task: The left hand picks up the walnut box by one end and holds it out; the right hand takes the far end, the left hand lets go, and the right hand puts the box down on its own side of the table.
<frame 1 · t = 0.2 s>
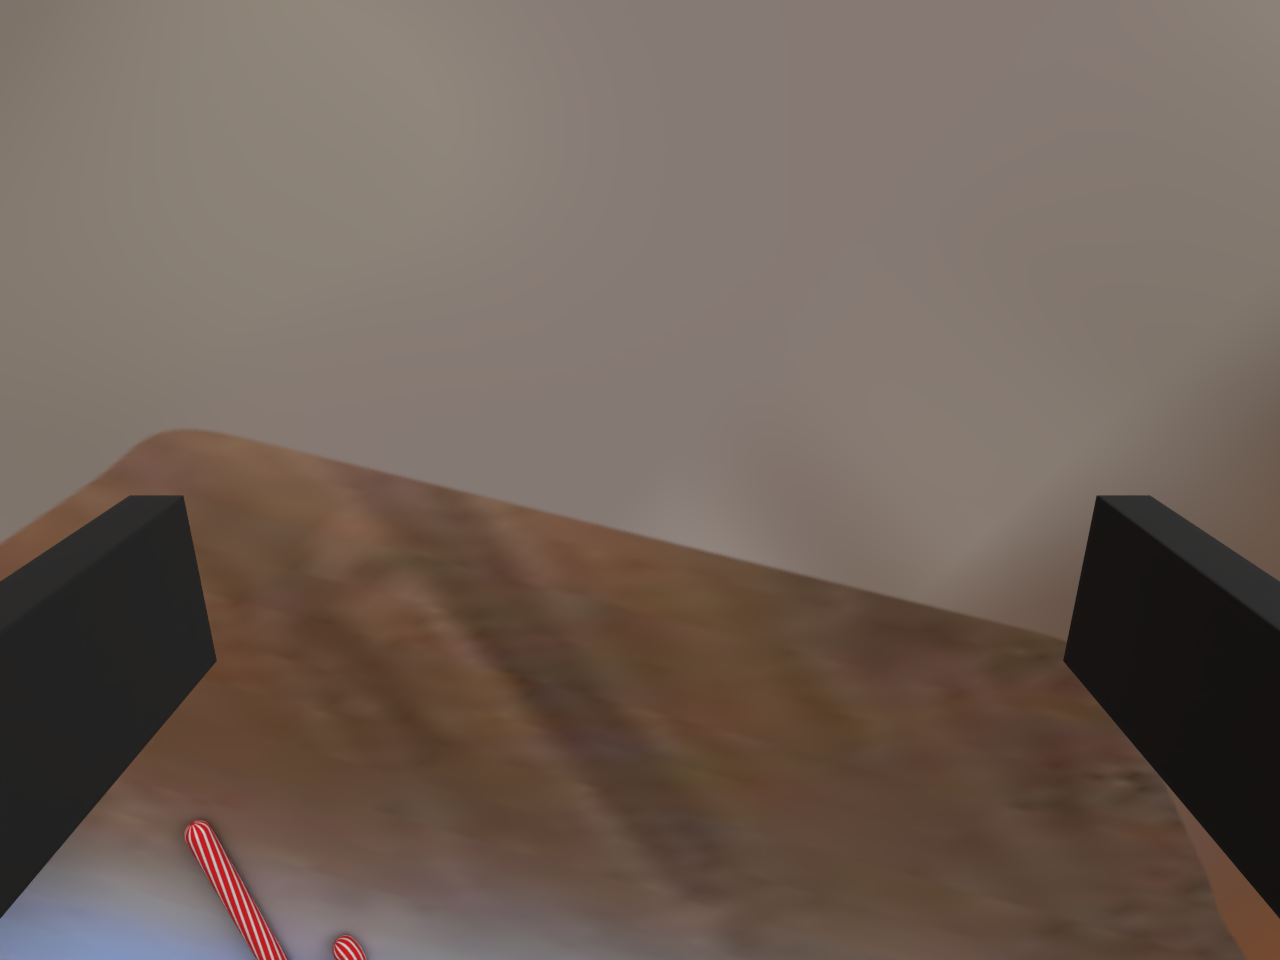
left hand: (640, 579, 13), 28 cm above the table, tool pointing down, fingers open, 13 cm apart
candy cane: (278, 902, 51), on the table
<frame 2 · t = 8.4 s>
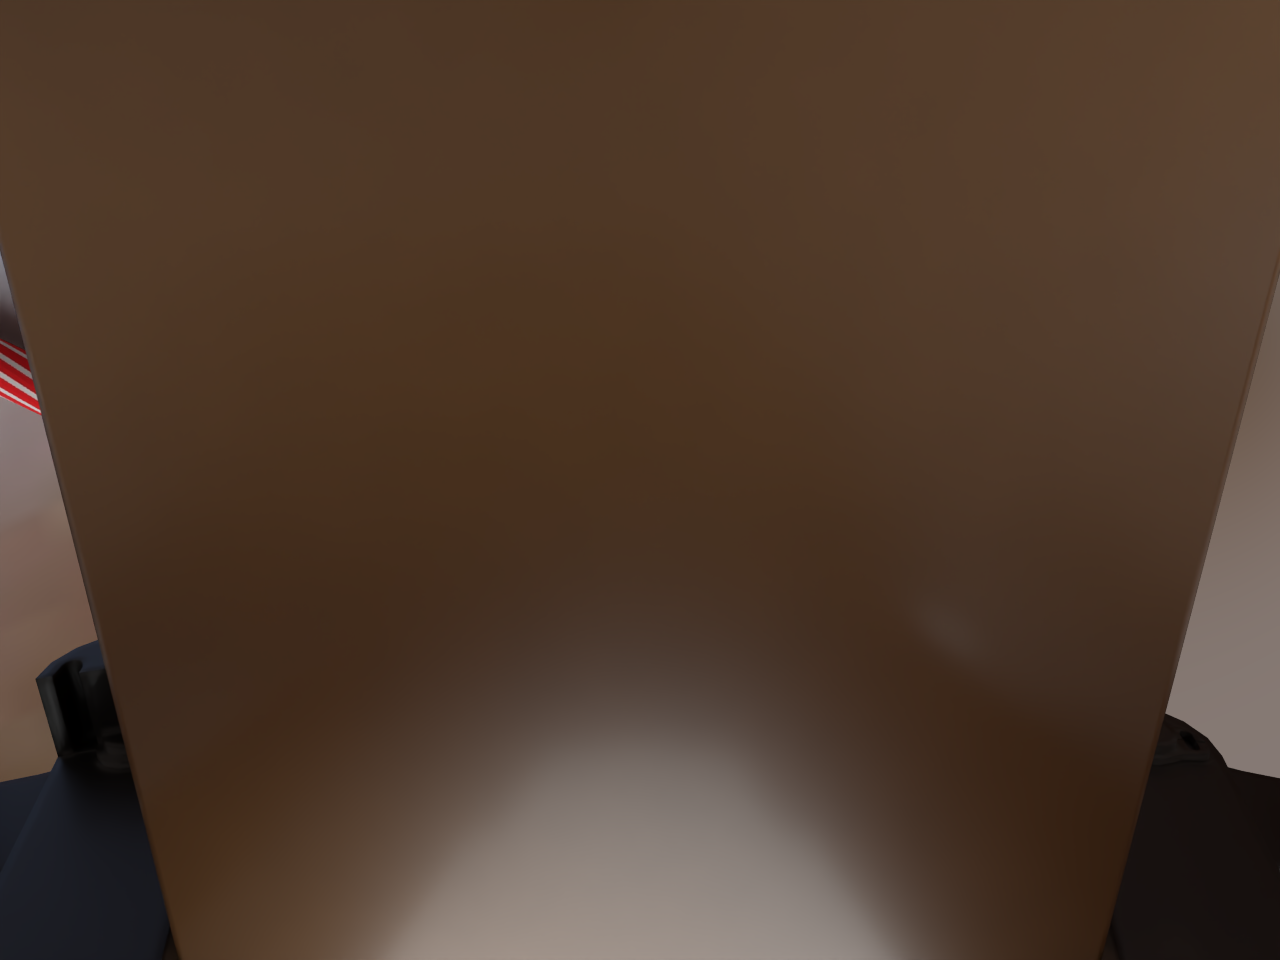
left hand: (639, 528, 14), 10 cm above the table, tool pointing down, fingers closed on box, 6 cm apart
candy cane: (3, 403, 24), on the table
box: (640, 74, 12), point 10 cm above the table, touching left hand, right hand
when the left hand's fingers open (10 cm above the table, at t = 9.4 s): box stays where it is, held by the right hand.
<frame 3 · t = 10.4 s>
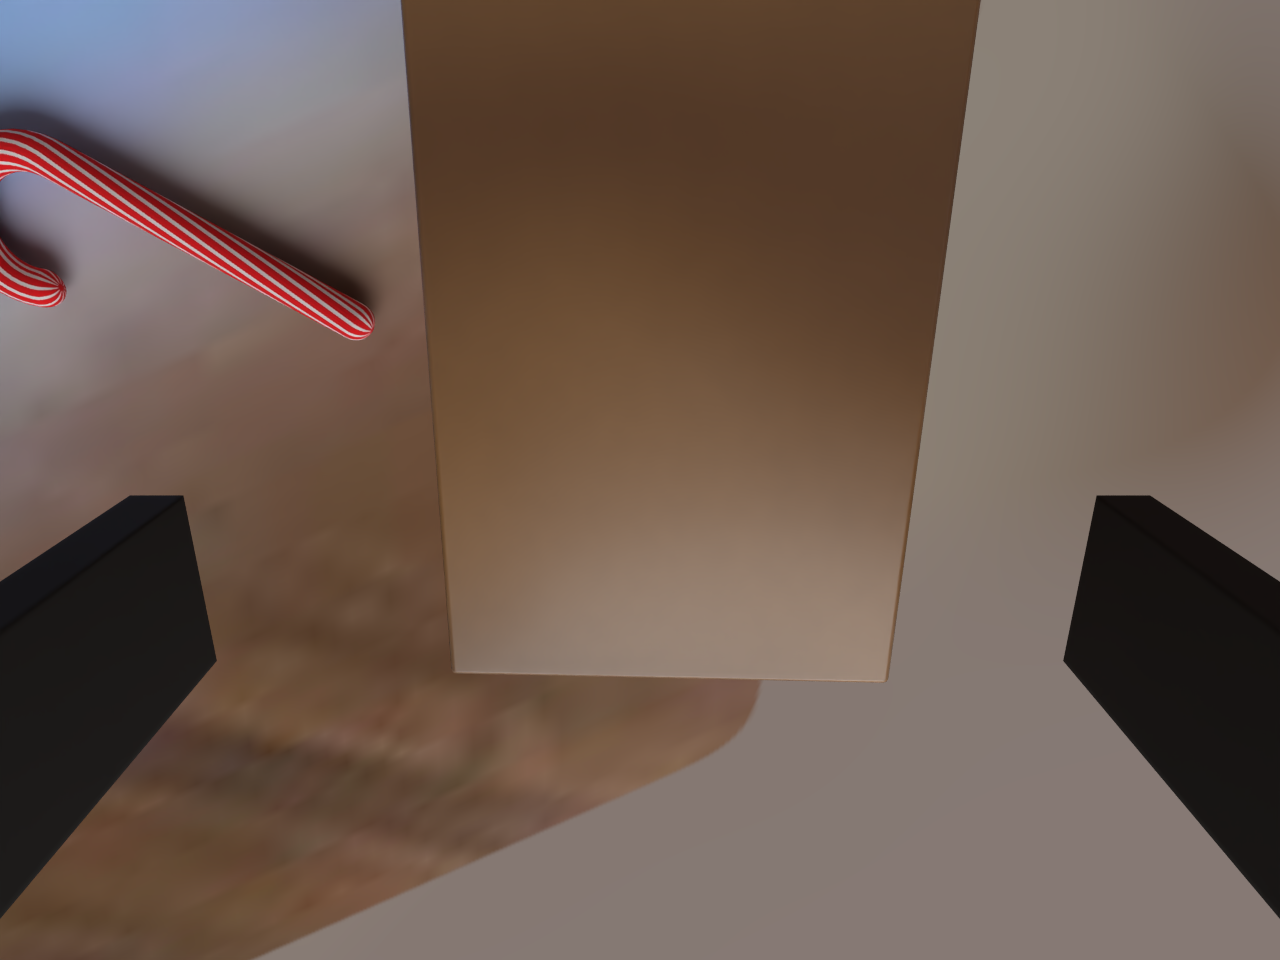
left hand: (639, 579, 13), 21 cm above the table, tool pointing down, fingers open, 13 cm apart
candy cane: (177, 261, 31), on the table
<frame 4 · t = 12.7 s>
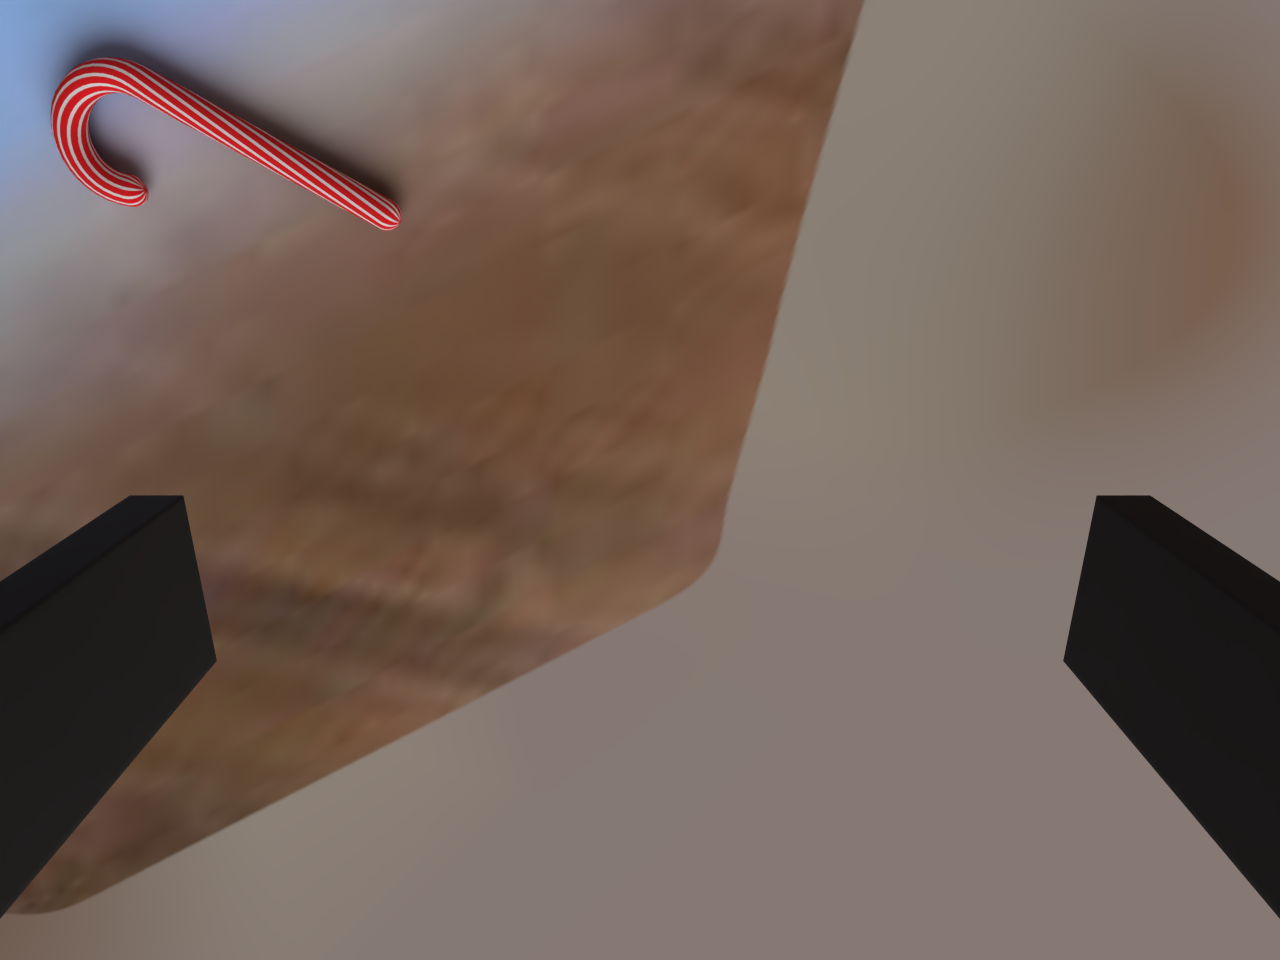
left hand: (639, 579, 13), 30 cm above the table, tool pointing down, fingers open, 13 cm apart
candy cane: (239, 168, 39), on the table
when the right hand's fingers open (6 cm above the table, at t = 17.3 s): box stays where it is, on the table.
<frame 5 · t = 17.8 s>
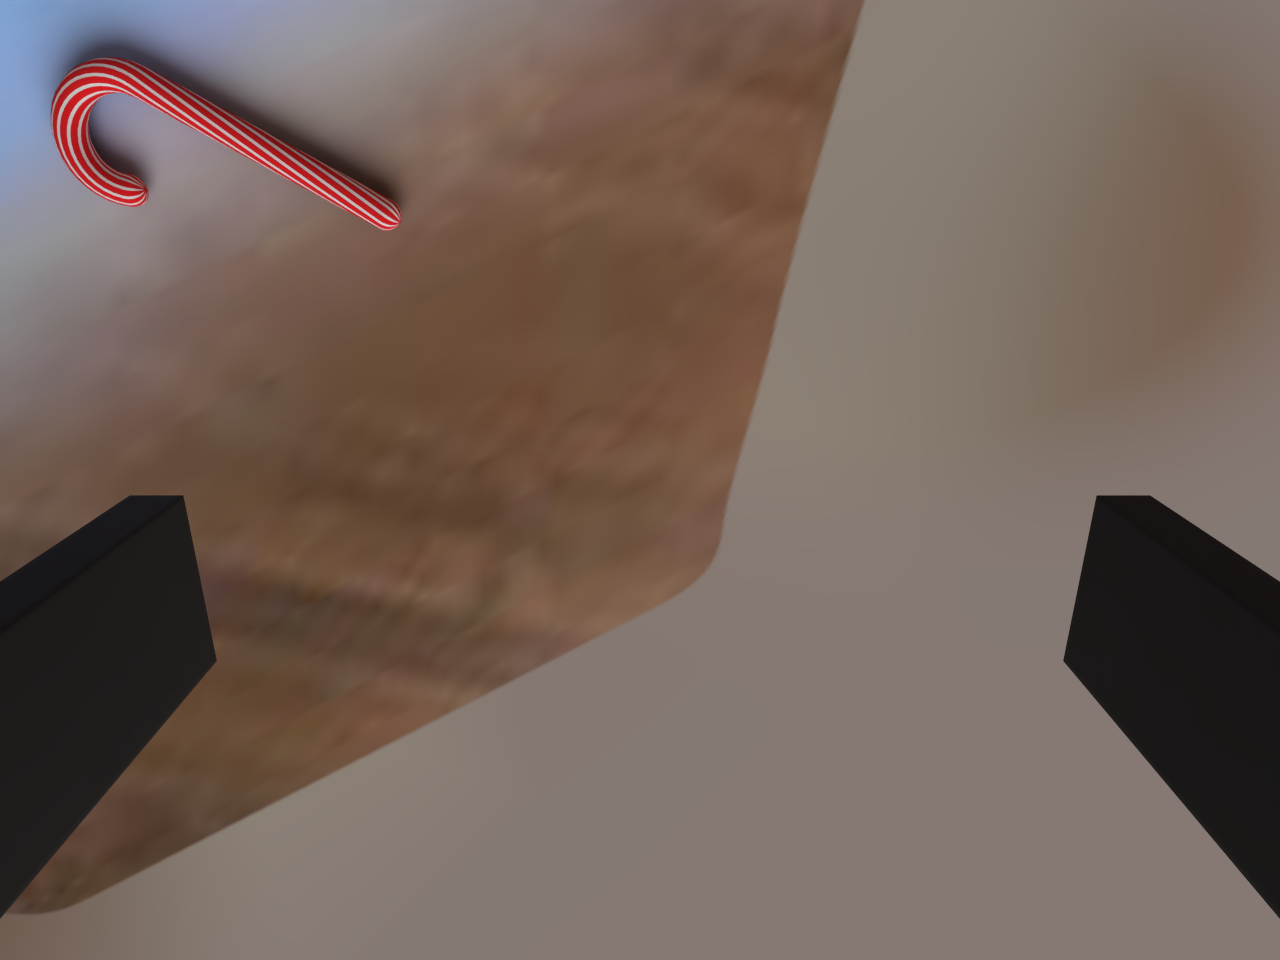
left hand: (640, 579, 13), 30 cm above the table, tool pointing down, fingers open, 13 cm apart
candy cane: (239, 168, 39), on the table
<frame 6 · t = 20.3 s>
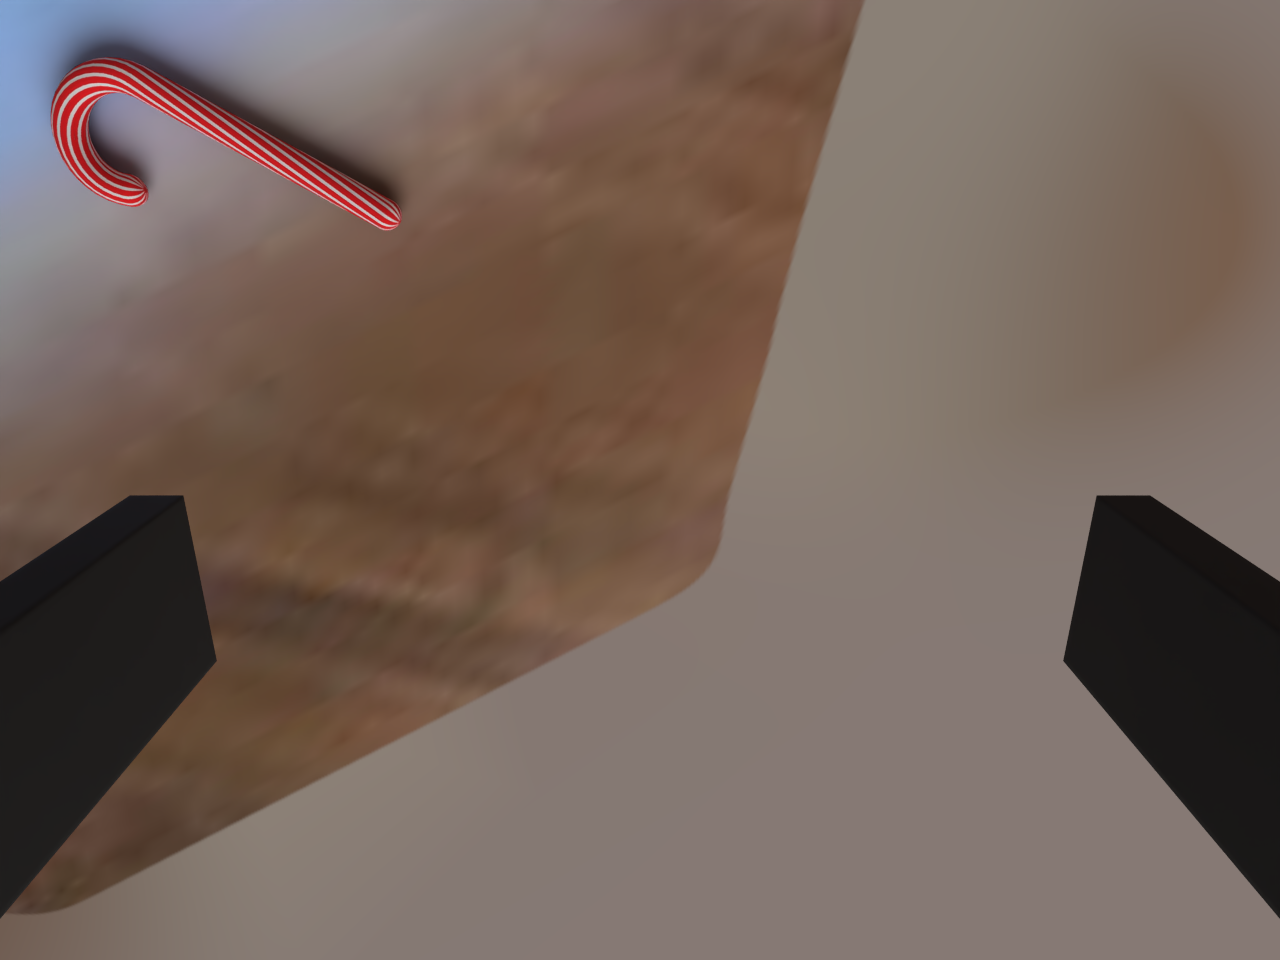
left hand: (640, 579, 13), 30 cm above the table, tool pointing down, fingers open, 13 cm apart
candy cane: (239, 168, 39), on the table
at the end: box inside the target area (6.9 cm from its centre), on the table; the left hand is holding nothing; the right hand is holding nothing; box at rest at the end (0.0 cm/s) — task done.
